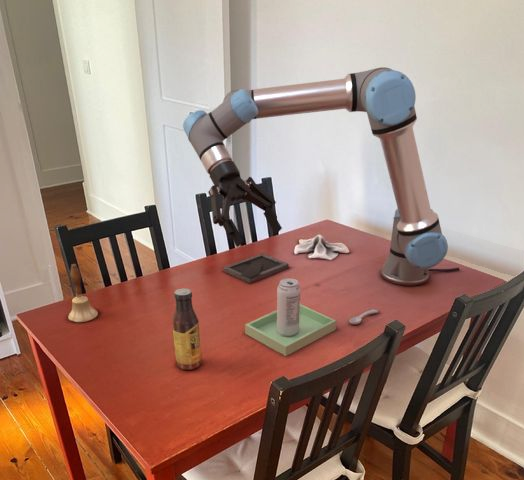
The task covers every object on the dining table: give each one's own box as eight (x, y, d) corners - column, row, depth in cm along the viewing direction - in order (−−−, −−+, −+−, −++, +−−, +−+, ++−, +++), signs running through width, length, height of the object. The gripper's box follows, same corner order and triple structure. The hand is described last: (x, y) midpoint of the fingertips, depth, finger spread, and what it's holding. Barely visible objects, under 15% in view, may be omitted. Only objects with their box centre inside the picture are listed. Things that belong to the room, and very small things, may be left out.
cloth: (356, 249, 196) (358, 233, 193) (327, 264, 184) (328, 248, 181) (308, 235, 209) (309, 220, 205) (278, 249, 197) (278, 233, 194)
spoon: (346, 323, 149) (347, 317, 148) (371, 312, 156) (372, 306, 155) (354, 327, 147) (355, 321, 146) (379, 315, 154) (380, 309, 153)
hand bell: (89, 306, 159) (78, 256, 150) (103, 315, 154) (93, 264, 145) (63, 315, 154) (51, 264, 146) (77, 325, 149) (65, 273, 141)
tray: (295, 310, 156) (295, 301, 155) (335, 329, 146) (336, 320, 145) (245, 333, 145) (245, 324, 143) (285, 356, 135) (285, 346, 134)
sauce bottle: (197, 372, 129) (191, 299, 118) (173, 369, 130) (164, 297, 120) (205, 358, 135) (199, 287, 124) (181, 355, 136) (174, 285, 125)
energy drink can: (290, 324, 148) (291, 275, 140) (303, 334, 144) (305, 283, 136) (272, 330, 145) (272, 280, 137) (285, 340, 141) (286, 289, 133)
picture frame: (249, 283, 172) (288, 268, 182) (249, 277, 171) (288, 262, 181) (223, 271, 180) (262, 257, 190) (223, 266, 179) (262, 252, 189)
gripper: (249, 168, 150) (286, 233, 148) (177, 185, 135) (216, 256, 134) (262, 152, 143) (300, 219, 142) (187, 167, 129) (229, 242, 128)
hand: (260, 237), depth 138 cm, fingers open, 13 cm apart
